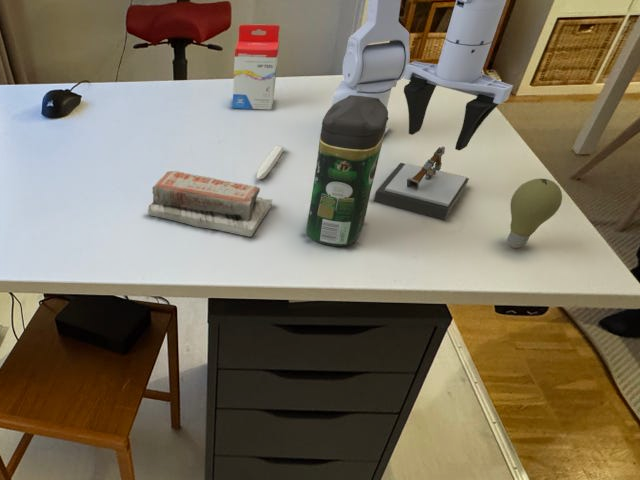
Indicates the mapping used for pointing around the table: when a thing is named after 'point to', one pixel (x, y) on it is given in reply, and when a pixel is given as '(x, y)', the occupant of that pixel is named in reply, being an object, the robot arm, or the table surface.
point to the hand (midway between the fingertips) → (436, 139)
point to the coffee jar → (346, 169)
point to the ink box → (255, 67)
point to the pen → (270, 161)
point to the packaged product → (208, 203)
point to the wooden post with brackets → (427, 169)
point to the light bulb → (532, 209)
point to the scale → (422, 191)
